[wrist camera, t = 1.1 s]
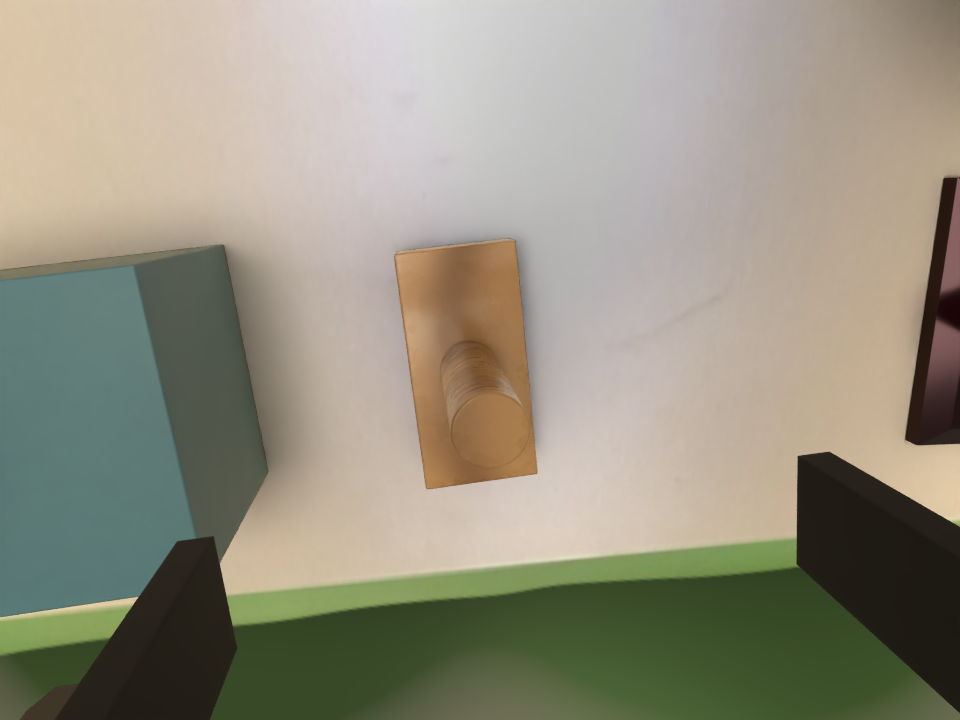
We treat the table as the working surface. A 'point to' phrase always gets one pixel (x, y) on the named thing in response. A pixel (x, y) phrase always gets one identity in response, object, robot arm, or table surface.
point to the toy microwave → (119, 423)
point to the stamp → (467, 361)
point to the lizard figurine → (940, 335)
